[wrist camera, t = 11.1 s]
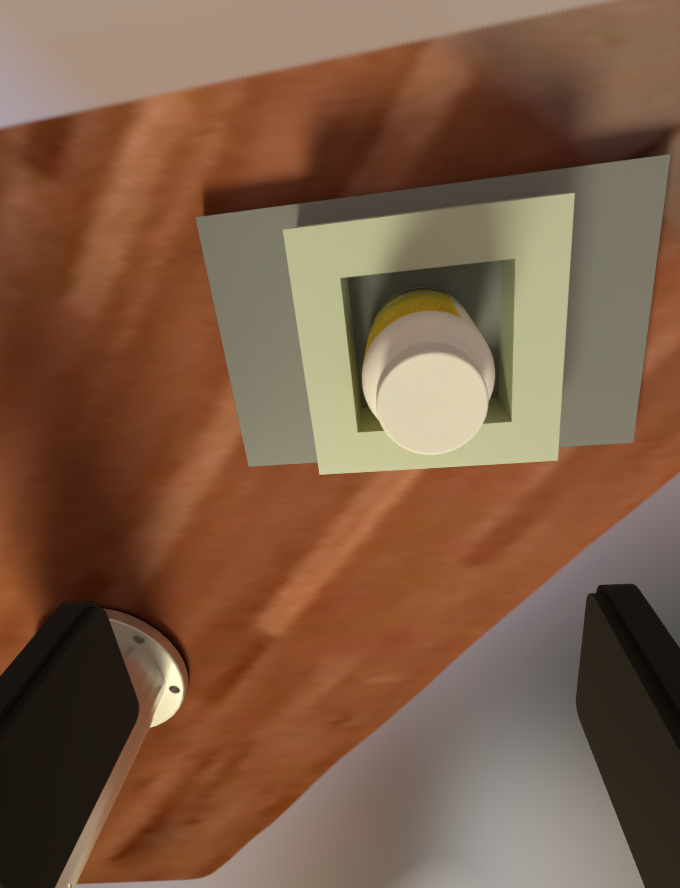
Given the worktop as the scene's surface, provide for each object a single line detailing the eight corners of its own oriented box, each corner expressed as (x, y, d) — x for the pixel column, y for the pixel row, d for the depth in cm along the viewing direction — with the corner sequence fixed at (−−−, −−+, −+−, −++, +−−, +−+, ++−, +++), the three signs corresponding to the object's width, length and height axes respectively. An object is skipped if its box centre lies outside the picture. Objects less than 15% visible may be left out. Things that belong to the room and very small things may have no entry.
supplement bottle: (347, 345, 28) (326, 411, 19) (415, 262, 25) (427, 293, 17) (423, 407, 29) (436, 497, 20) (494, 332, 27) (545, 395, 18)
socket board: (657, 156, 24) (715, 145, 19) (624, 433, 29) (663, 472, 25) (203, 216, 27) (167, 219, 22) (253, 457, 32) (232, 495, 28)
